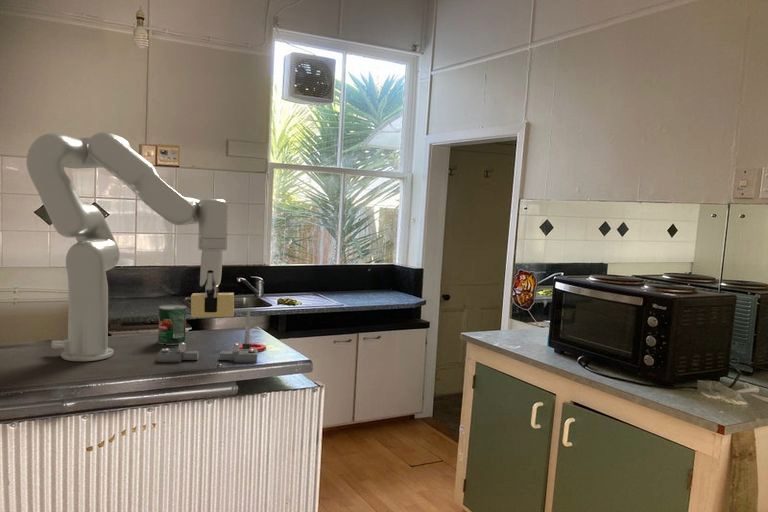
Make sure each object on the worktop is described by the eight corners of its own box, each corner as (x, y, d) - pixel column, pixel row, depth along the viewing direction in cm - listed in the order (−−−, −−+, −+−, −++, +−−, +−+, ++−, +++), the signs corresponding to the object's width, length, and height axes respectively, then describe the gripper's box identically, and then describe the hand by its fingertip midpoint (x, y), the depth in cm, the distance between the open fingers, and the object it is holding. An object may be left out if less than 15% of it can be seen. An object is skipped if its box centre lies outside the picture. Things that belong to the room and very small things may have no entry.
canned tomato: (152, 343, 175) (153, 307, 174) (167, 338, 182) (168, 303, 182) (176, 346, 173) (177, 309, 172) (190, 340, 181) (191, 305, 180)
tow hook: (243, 346, 180) (231, 351, 171) (246, 304, 179) (234, 307, 170) (269, 348, 179) (258, 354, 169) (272, 306, 178) (261, 310, 169)
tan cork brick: (191, 317, 157) (190, 295, 156) (193, 314, 161) (192, 293, 160) (233, 316, 159) (233, 294, 158) (234, 313, 163) (233, 292, 162)
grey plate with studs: (157, 362, 155) (157, 345, 155) (161, 356, 161) (162, 340, 161) (256, 362, 160) (257, 346, 160) (257, 356, 166) (257, 341, 166)
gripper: (202, 241, 166) (200, 305, 167) (194, 246, 149) (193, 316, 151) (229, 242, 167) (227, 305, 169) (224, 247, 151) (223, 316, 152)
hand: (211, 309), depth 160 cm, fingers closed on tan cork brick, 4 cm apart
